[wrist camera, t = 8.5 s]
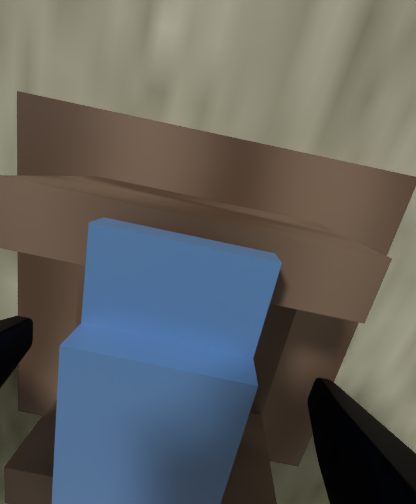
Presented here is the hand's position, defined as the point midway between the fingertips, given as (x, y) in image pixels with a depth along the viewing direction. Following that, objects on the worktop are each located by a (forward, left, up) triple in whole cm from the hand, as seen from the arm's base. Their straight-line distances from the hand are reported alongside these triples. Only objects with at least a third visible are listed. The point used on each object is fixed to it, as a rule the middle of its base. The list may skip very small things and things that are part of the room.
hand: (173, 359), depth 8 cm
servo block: (0, 0, -3) cm, 3 cm away
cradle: (0, 0, -3) cm, 3 cm away
